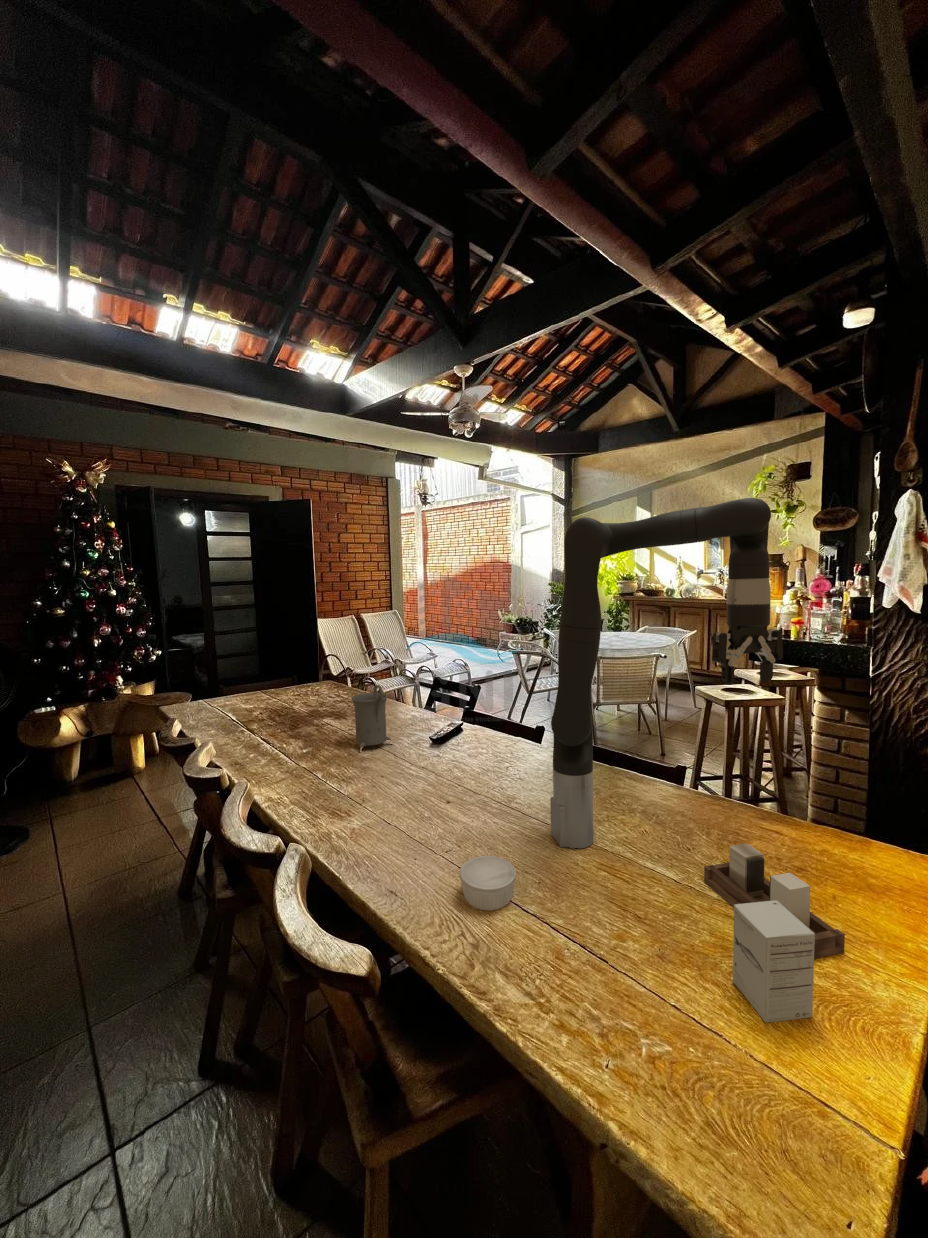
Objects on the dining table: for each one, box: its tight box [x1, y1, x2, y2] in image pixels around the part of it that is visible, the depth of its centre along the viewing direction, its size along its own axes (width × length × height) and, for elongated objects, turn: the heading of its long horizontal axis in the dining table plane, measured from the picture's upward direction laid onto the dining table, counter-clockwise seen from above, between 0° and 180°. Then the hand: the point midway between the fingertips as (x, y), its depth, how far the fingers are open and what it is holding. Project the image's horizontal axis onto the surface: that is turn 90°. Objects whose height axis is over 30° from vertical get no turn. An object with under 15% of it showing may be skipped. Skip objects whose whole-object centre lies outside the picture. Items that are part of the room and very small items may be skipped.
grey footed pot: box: [351, 684, 392, 748], centre depth 189 cm, size 19×15×25 cm
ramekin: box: [459, 855, 517, 912], centre depth 97 cm, size 11×11×5 cm
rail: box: [703, 843, 846, 960], centre depth 90 cm, size 9×22×9 cm, turn 11°
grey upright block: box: [769, 872, 811, 928], centre depth 85 cm, size 4×5×8 cm
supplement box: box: [732, 901, 815, 1023], centre depth 71 cm, size 7×7×13 cm
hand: (747, 682), depth 99 cm, fingers open, 8 cm apart
